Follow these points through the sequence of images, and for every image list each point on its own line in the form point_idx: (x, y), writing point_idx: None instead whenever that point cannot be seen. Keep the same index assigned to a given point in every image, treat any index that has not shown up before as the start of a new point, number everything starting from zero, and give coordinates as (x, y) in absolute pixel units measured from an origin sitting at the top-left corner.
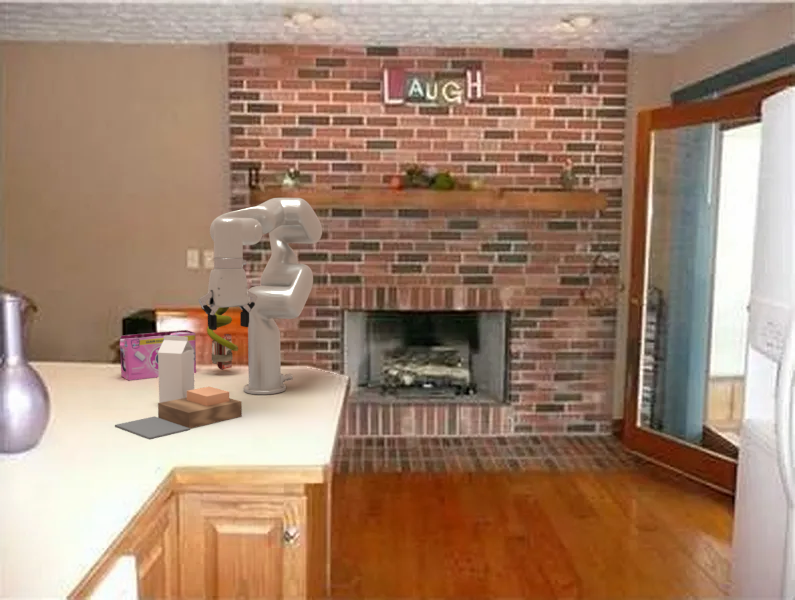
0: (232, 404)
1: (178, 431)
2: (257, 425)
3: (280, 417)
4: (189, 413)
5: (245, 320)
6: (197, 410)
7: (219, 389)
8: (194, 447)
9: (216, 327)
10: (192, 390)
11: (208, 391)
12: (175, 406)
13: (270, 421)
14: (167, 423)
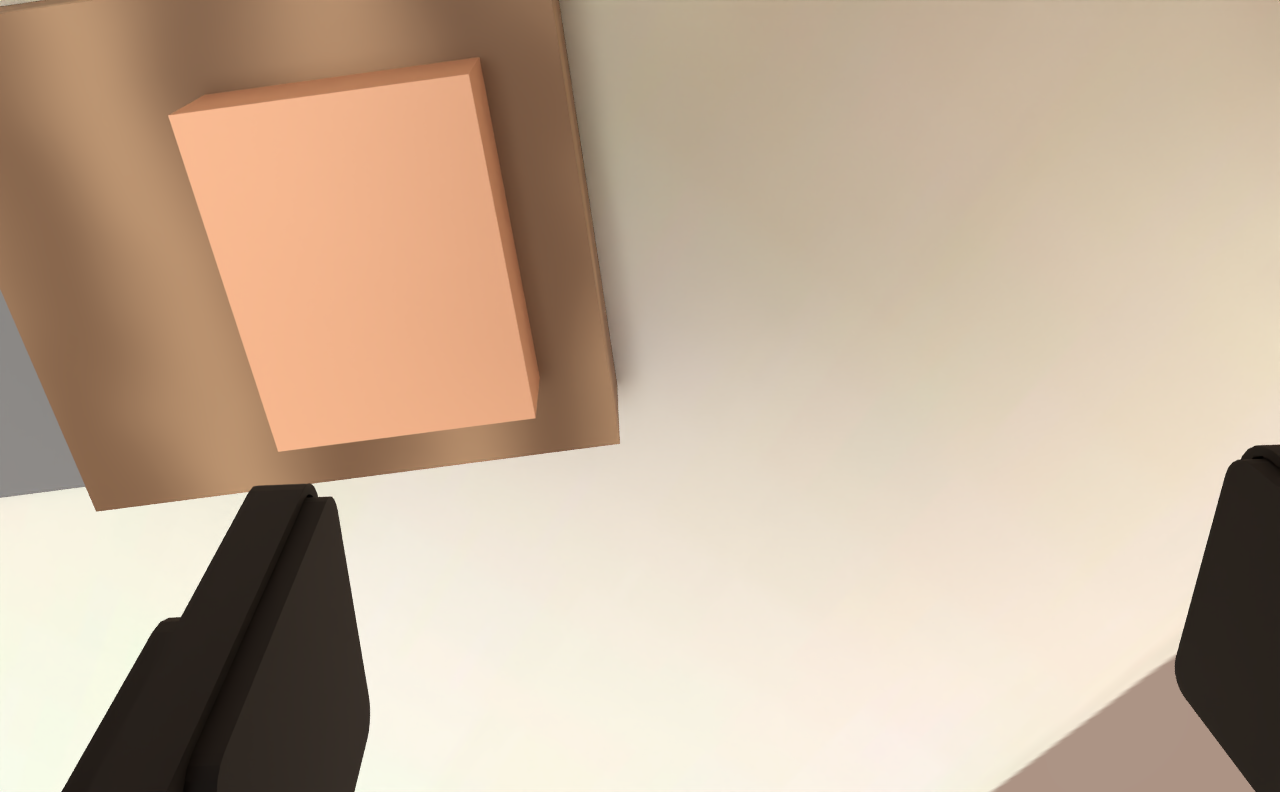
0: (525, 451)
1: (47, 489)
2: (584, 624)
3: (817, 558)
4: (104, 508)
5: (1271, 774)
6: (181, 488)
7: (500, 277)
8: (73, 770)
9: (353, 759)
10: (232, 141)
11: (366, 289)
12: (35, 263)
13: (705, 597)
14: None
